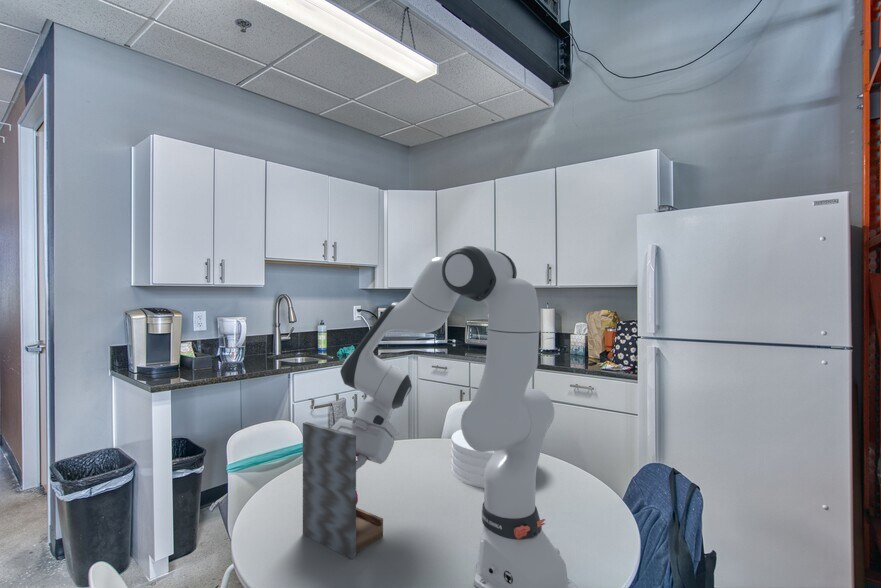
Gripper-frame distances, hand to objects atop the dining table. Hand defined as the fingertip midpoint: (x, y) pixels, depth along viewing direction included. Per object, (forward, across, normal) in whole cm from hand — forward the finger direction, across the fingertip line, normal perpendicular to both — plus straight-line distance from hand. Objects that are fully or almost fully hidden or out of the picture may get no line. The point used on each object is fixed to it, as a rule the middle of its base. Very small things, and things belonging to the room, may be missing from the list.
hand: (341, 470), depth 111 cm
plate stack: (-29, +10, +54) cm, 62 cm away
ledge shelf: (+11, 0, +13) cm, 17 cm away
